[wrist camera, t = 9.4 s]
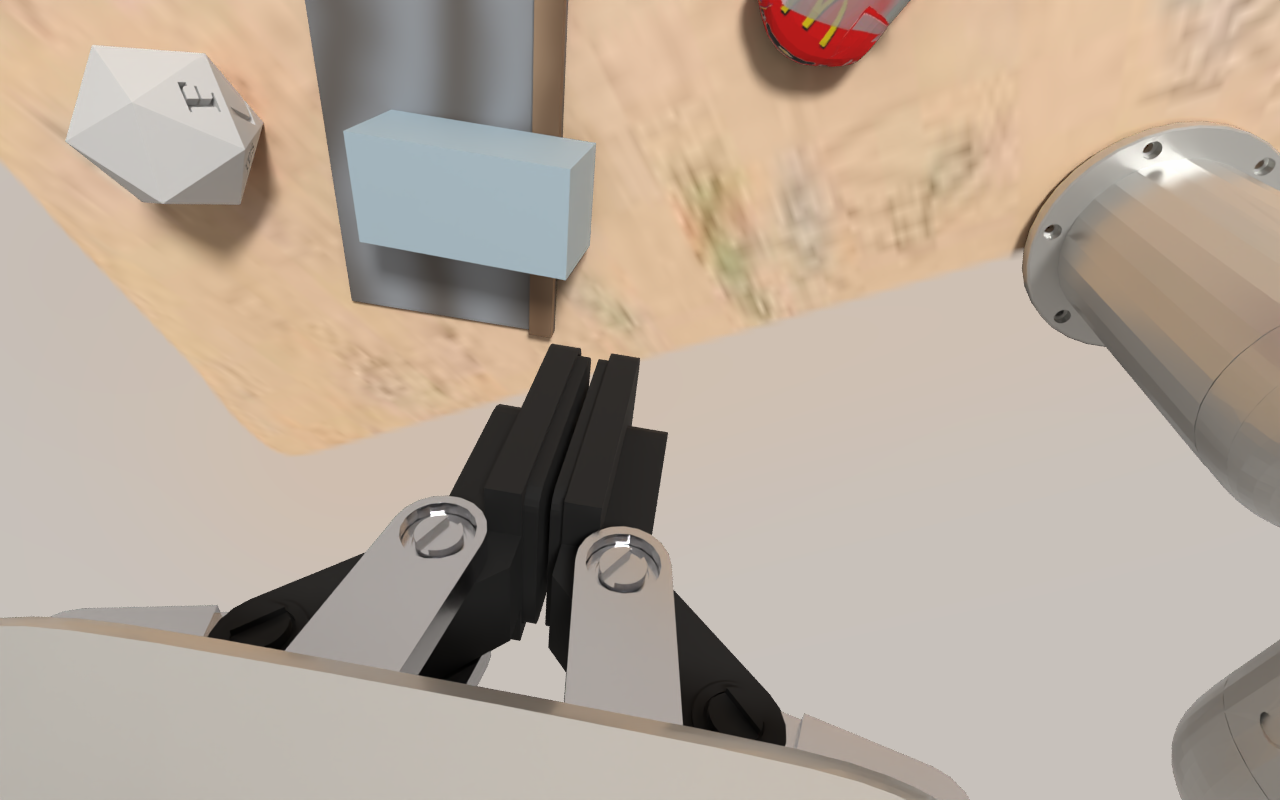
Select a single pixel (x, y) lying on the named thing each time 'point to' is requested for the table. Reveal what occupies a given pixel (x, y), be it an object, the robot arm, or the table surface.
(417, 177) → the tall block
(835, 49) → the race car
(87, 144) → the die
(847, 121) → the table surface
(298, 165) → the table surface
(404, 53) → the mat
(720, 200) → the table surface
